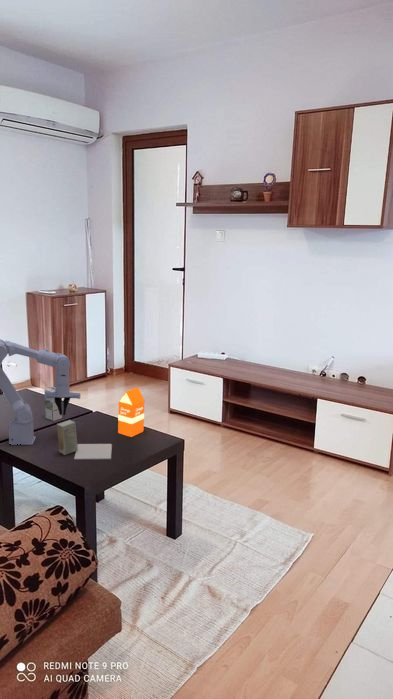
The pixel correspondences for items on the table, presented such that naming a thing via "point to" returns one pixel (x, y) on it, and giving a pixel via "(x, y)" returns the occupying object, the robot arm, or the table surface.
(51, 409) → the syrup box
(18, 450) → the table surface
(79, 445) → the mat
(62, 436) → the skincare box
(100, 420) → the table surface
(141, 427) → the orange juice
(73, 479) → the table surface
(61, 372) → the robot arm
